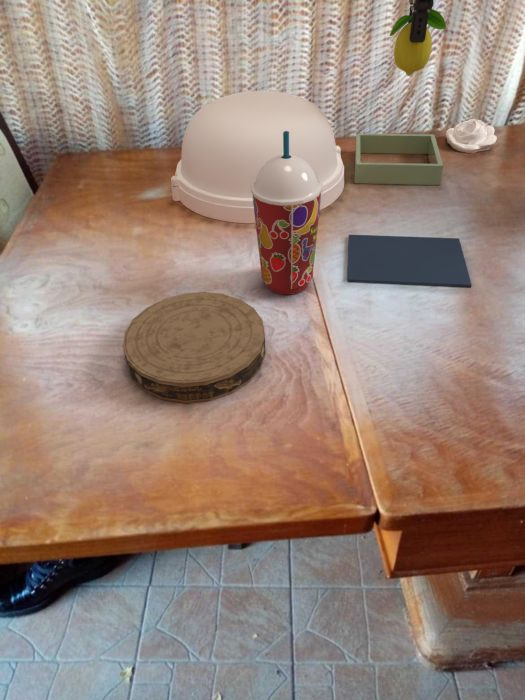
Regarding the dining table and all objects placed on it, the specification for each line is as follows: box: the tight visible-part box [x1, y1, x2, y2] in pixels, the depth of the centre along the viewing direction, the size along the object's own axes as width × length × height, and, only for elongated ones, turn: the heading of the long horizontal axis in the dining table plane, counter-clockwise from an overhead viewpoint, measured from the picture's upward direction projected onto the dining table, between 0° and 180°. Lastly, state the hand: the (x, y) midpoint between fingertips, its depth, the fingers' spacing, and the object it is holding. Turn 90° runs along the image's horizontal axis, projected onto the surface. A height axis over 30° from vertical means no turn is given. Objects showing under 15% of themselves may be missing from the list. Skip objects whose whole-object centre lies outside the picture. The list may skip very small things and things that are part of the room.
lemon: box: [388, 8, 448, 77], centre depth 82 cm, size 7×6×10 cm
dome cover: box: [170, 90, 345, 224], centre depth 92 cm, size 32×30×14 cm
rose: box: [445, 118, 498, 154], centre depth 105 cm, size 10×4×10 cm
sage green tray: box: [353, 133, 444, 186], centre depth 98 cm, size 15×15×4 cm
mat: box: [346, 234, 472, 288], centre depth 75 cm, size 16×12×1 cm
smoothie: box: [251, 131, 322, 295], centre depth 66 cm, size 8×8×20 cm
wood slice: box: [122, 291, 266, 404], centre depth 61 cm, size 16×16×3 cm
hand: (415, 37), depth 81 cm, fingers closed on lemon, 4 cm apart
